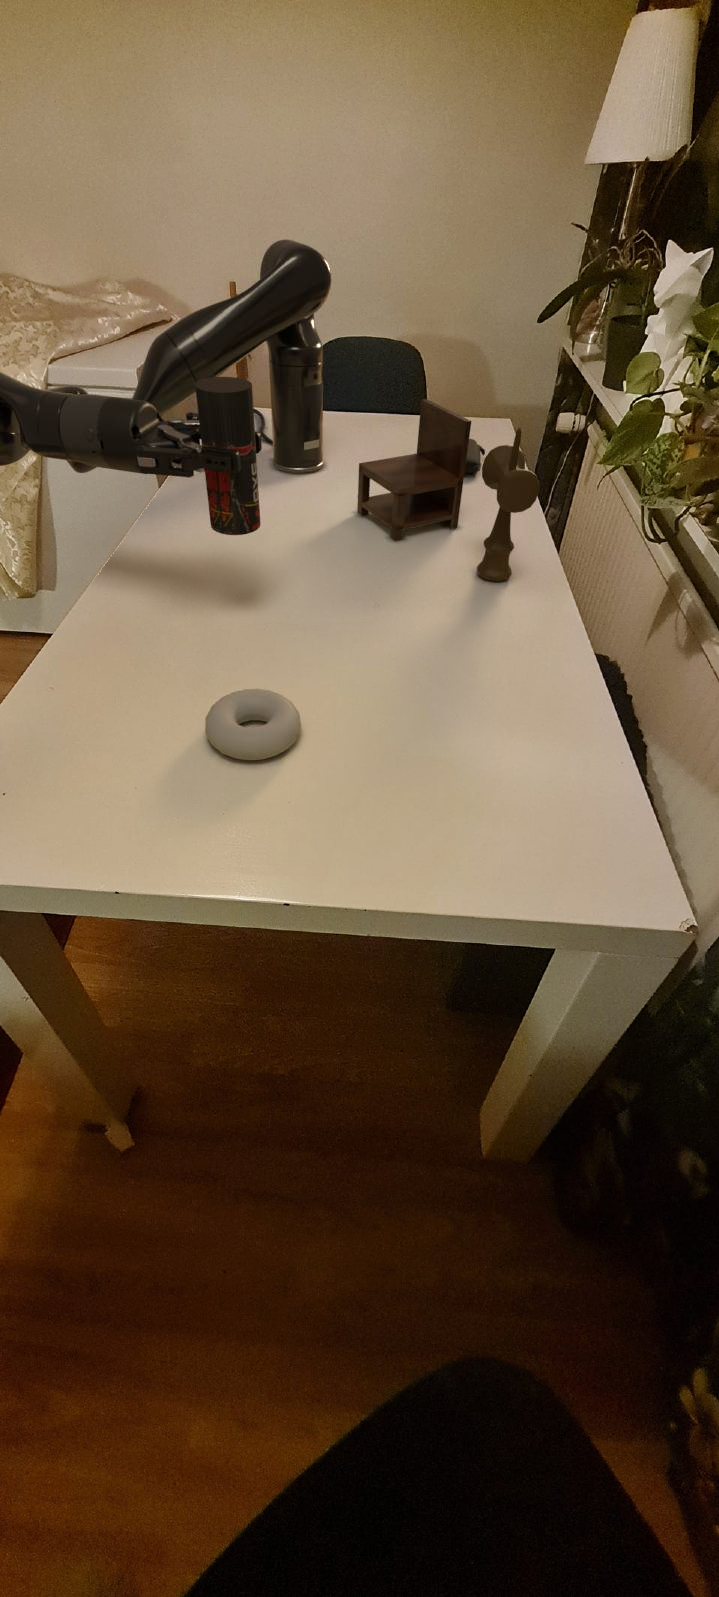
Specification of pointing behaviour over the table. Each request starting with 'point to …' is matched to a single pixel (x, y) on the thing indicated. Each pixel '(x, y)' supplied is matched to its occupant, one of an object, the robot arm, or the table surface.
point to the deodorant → (230, 428)
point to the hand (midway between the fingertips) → (249, 452)
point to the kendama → (505, 504)
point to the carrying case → (473, 458)
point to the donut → (252, 739)
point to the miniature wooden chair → (420, 475)
